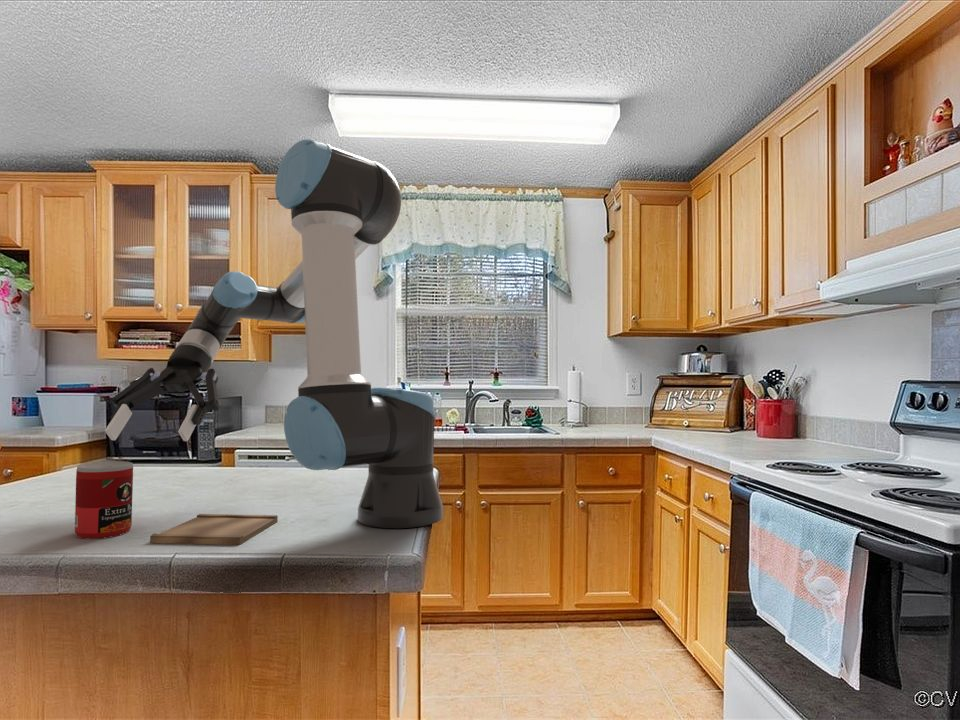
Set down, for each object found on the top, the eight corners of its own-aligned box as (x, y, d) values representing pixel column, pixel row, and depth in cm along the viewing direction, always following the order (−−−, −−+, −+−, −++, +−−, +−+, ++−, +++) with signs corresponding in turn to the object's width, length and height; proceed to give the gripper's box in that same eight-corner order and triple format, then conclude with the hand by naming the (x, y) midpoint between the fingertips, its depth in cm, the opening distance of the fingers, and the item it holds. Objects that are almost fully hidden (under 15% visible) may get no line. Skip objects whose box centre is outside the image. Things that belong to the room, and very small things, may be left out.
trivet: (277, 521, 101) (277, 515, 101) (239, 544, 87) (239, 537, 87) (199, 520, 101) (199, 513, 101) (150, 542, 87) (150, 535, 87)
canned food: (104, 540, 88) (106, 469, 89) (61, 537, 90) (63, 467, 90) (143, 528, 96) (144, 462, 96) (102, 525, 97) (104, 460, 98)
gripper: (257, 369, 121) (220, 449, 106) (143, 368, 123) (90, 448, 107) (246, 342, 116) (205, 423, 101) (127, 342, 117) (69, 421, 102)
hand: (146, 436), depth 104 cm, fingers open, 13 cm apart
